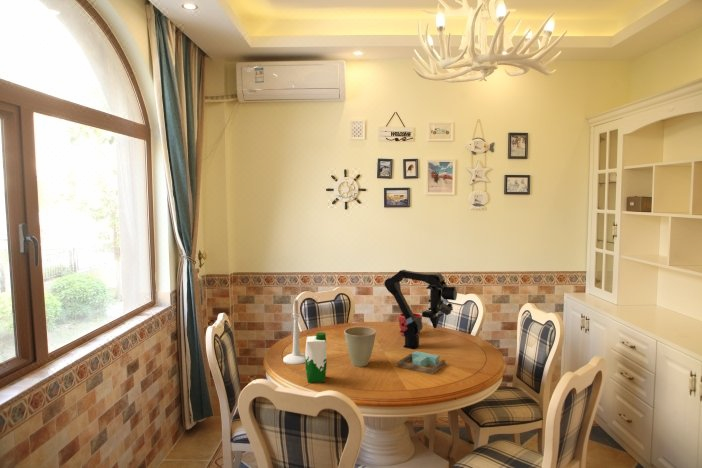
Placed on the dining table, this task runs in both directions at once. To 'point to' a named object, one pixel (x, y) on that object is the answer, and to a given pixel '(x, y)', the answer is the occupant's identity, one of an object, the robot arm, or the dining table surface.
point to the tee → (424, 359)
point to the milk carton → (316, 358)
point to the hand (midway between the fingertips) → (435, 328)
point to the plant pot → (360, 344)
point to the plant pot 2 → (403, 322)
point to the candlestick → (295, 342)
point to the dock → (406, 365)
